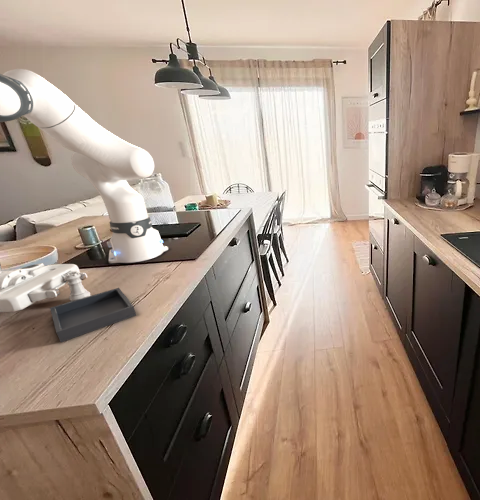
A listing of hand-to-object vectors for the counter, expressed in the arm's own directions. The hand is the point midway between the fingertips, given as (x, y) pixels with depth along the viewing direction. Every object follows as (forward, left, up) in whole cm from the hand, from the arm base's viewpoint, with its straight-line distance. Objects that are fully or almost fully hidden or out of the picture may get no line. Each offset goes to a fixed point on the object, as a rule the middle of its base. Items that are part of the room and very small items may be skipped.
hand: (72, 284), depth 76 cm
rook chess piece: (+1, +1, -5) cm, 5 cm away
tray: (+13, +2, -5) cm, 14 cm away
